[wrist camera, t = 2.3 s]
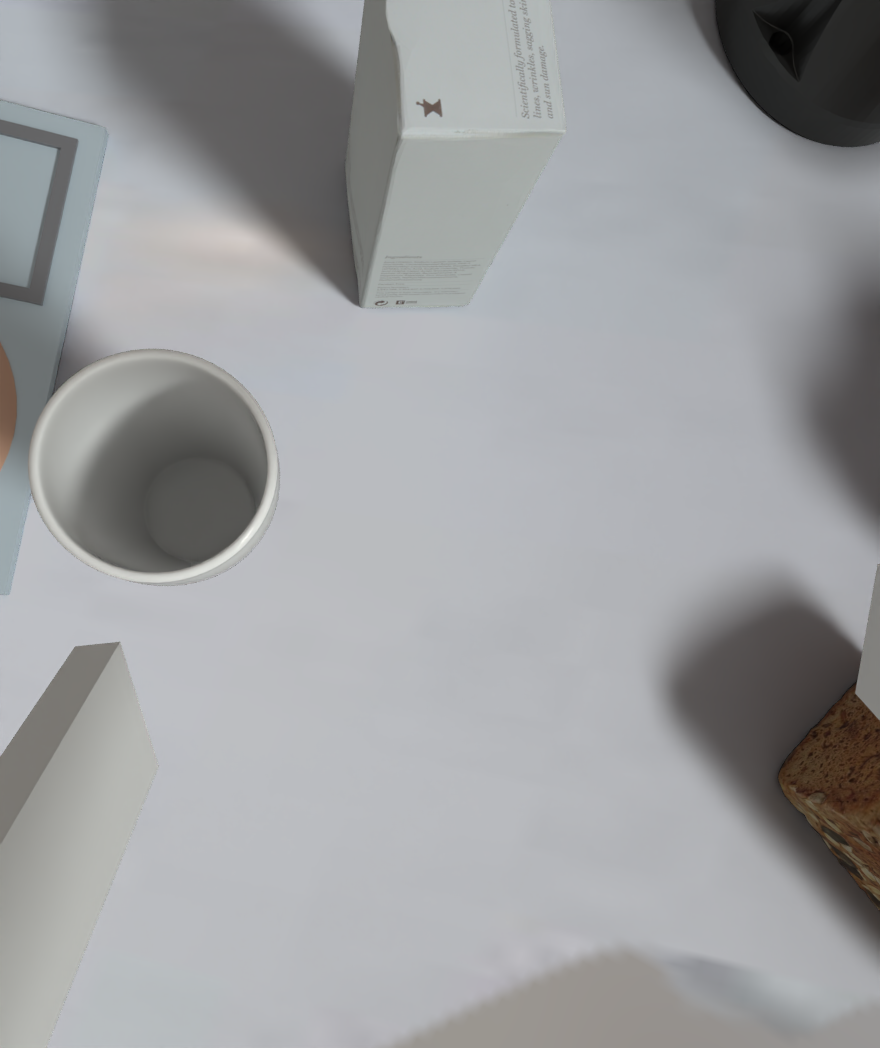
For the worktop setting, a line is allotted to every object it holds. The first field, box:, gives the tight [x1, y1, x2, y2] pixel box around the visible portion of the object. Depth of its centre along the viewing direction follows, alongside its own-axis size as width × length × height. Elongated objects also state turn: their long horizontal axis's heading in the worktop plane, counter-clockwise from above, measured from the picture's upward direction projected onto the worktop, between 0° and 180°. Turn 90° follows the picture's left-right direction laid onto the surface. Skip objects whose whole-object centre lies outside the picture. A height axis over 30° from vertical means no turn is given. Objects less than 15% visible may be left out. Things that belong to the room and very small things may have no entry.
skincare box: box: [345, 0, 566, 308], centre depth 32 cm, size 8×6×15 cm
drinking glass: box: [28, 349, 280, 586], centre depth 28 cm, size 7×7×15 cm
